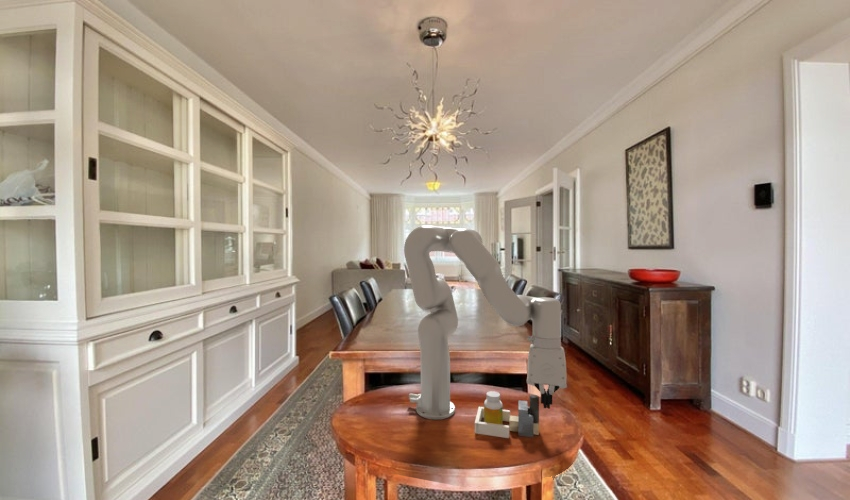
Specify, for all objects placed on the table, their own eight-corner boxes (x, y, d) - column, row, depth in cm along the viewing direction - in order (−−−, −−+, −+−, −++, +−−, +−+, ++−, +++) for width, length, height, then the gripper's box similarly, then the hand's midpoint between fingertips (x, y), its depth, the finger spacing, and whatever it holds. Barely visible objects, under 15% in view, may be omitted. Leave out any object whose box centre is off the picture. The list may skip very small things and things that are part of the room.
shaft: (509, 430, 97) (509, 396, 97) (509, 425, 100) (509, 391, 100) (539, 434, 95) (539, 399, 94) (538, 429, 98) (538, 395, 97)
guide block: (518, 435, 95) (518, 409, 95) (518, 424, 100) (518, 400, 100) (533, 437, 94) (533, 411, 94) (532, 426, 99) (532, 401, 99)
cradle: (474, 433, 96) (474, 422, 96) (478, 415, 106) (478, 406, 106) (509, 438, 93) (509, 427, 93) (510, 420, 103) (510, 410, 103)
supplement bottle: (502, 432, 96) (502, 398, 96) (483, 430, 97) (483, 397, 97) (502, 422, 102) (502, 390, 101) (484, 420, 103) (484, 389, 103)
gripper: (519, 343, 93) (519, 409, 94) (577, 347, 89) (577, 416, 90) (518, 336, 101) (519, 397, 101) (573, 340, 97) (572, 403, 97)
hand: (546, 406), depth 95 cm, fingers closed
